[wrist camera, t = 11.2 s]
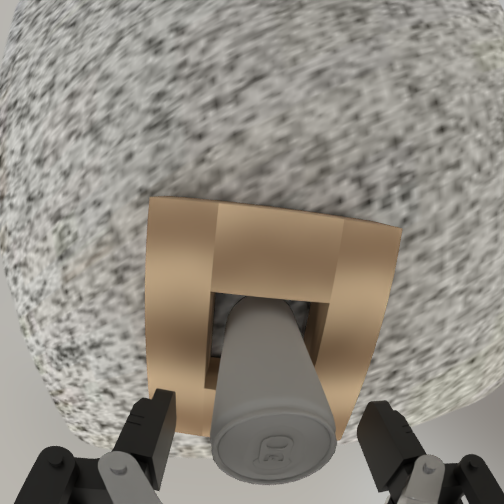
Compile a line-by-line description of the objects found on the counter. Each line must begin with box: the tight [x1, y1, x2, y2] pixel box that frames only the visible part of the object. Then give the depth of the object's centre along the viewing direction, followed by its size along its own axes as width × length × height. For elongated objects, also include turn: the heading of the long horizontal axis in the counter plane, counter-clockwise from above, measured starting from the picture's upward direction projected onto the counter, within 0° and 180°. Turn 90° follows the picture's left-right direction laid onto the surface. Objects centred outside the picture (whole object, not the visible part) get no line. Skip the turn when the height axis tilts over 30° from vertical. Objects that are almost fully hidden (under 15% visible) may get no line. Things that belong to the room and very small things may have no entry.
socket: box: [145, 196, 402, 440], centre depth 18 cm, size 16×14×4 cm
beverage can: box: [210, 296, 337, 485], centre depth 15 cm, size 5×5×12 cm
